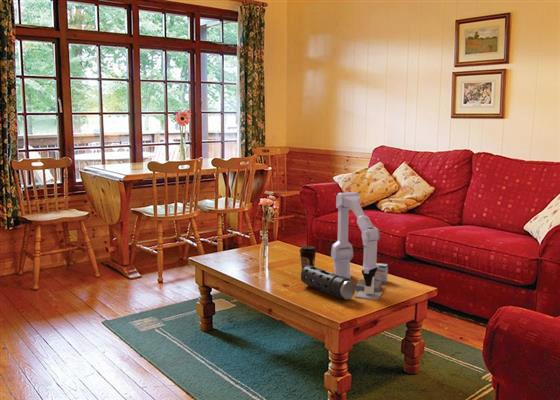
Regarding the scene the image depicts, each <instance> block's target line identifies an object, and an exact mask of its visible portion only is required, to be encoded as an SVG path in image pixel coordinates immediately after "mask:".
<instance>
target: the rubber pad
mask: <svg viewBox="0 0 560 400" xmlns="http://www.w3.org/2000/svg"><path fill="white" fill-rule="evenodd" d="M382 295H383V292H382V291H379V292H373V294H367V293H364V291H363V290H360V291H357V293H356V295H354V296H355V297H354V298H357V299H362V300H363V299H365V300H370V301H379V299H380V297H382Z"/></svg>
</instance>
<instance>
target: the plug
mask: <svg viewBox="0 0 560 400" xmlns="http://www.w3.org/2000/svg"><path fill="white" fill-rule="evenodd" d="M373 292H374V277H373V278H372V283H371V286H370V287H369V286H366V285H365V284H364V293H367V294H373Z"/></svg>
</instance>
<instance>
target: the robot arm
mask: <svg viewBox="0 0 560 400" xmlns="http://www.w3.org/2000/svg"><path fill="white" fill-rule="evenodd" d="M335 198H336V199H335V200H336V201H335V207H336V209H338V210H337V241H335V242H334V243H332V245H331V250H330V257H331V259H332V261H334V264H333V265H334V267H333V269H334V271H333V272H334V273H333V274H336V275H339V276H343V277H346V278H349V279H351V278H352V276H353V275H352V274H351V260H352V259H353V257H354V250H353V249H354V248H353V244H352V243H350V242H349V216H350V215H349V213H350V212H349V211H350V210H351V211H352V213H353V214H354V216H355V217H356V223H357V226H358V228H359V229H360V232H361V239H362V245H363V263H362V268H363V269H362V270H361V274H362V277H363V280H365V285H366V286H369V287H370V286H371V283H372V278H373V277H374V276H375V273H376V271H377V269H378V267H379V265H376V263H377V260H378V259H377V257H378V256H377V255H378V254H377V253H378V241H380V239H381V232H380V230H379V228H378V227H376V226H374V225H373V223H372V221H371V219H370V217H369V216H368V215H365V213H364V210H363V208H362V206H361V205H362V204H361V196H360V193H359V192H358V191H354V192H338V193H337V195H336V197H335Z"/></svg>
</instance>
